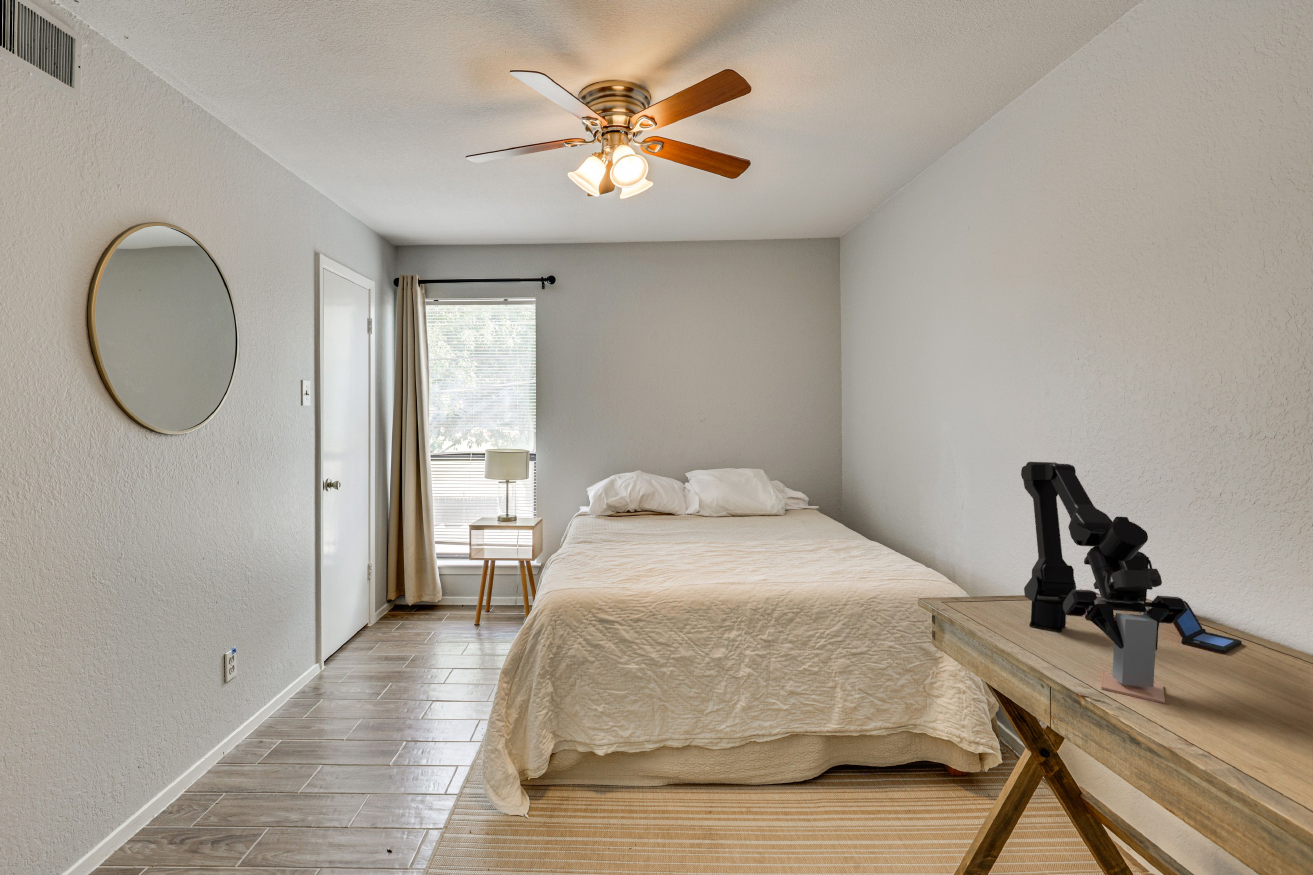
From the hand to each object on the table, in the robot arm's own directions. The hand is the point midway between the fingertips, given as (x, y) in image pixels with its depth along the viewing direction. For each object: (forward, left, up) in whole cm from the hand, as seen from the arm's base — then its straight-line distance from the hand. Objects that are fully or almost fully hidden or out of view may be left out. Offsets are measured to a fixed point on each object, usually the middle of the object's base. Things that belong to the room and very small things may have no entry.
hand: (1138, 648), depth 113 cm
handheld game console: (+12, +43, -8) cm, 45 cm away
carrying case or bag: (-2, +66, -8) cm, 67 cm away
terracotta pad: (-1, +1, -8) cm, 8 cm away
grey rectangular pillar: (-1, +1, -7) cm, 7 cm away
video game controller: (-10, +51, -8) cm, 53 cm away
